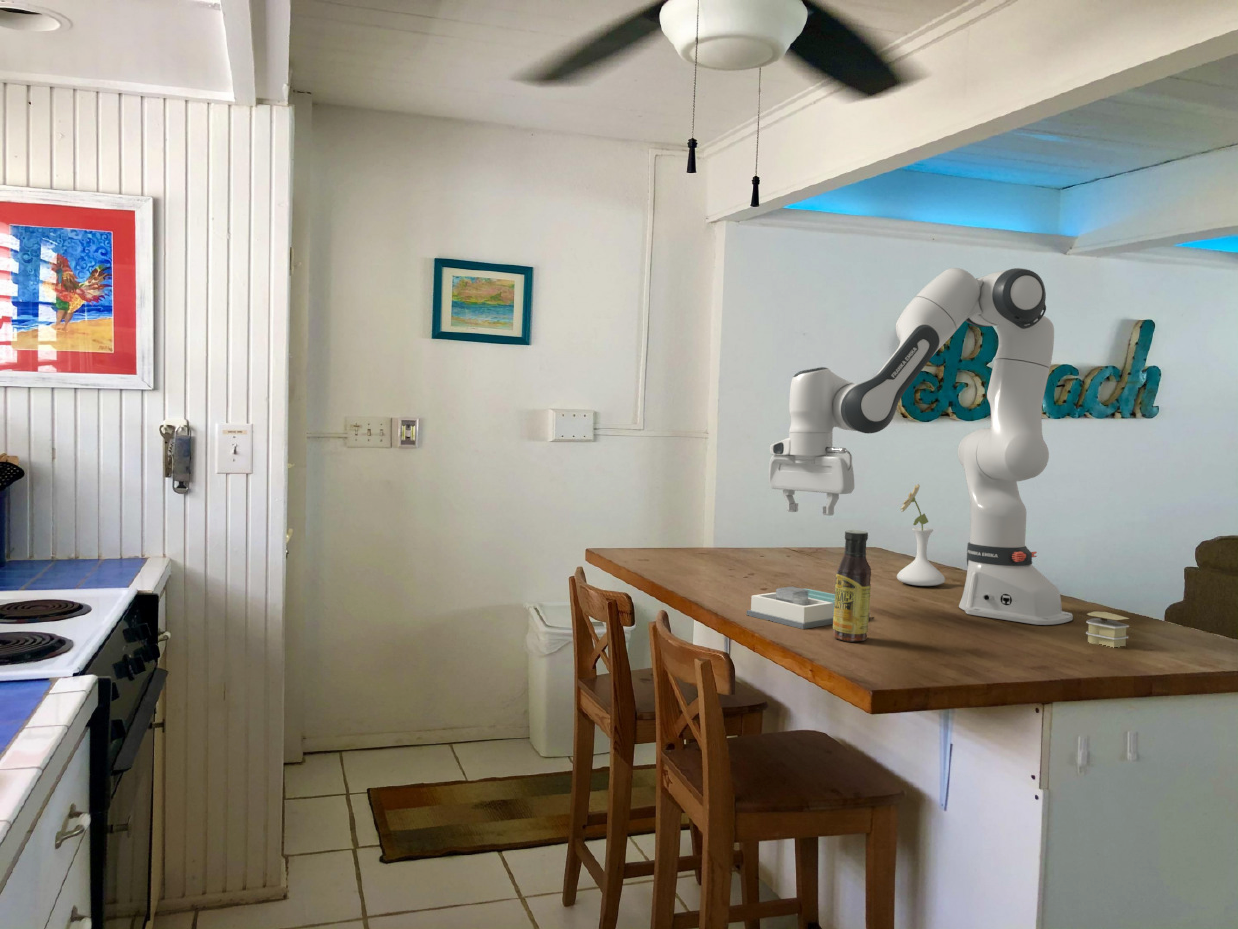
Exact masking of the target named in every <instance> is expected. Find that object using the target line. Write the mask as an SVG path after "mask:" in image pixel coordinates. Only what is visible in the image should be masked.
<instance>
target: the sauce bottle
mask: <svg viewBox="0 0 1238 929" xmlns="http://www.w3.org/2000/svg"><path fill="white" fill-rule="evenodd" d="M868 539H869V532H867V531H866V530H865V531H864V530H855V529H849V530H846V531H845V532H844V540H845V543H844V545H845V546H844V552H843V556H842V558H841V561H840V563H839V565H838V569H837V571H836V574H835V587H834V594H835V602H834V617H833V624H832V632H833V633H832V634H833V637H834V638H835V639H837V640H839V641H843V642H847V643H848V642H850V643H851V642H852V643H853V642H864V641H866V640H867V638H868V635H867V634H868V629H869V619H870V615H869V613H870V604H871V601H870V600H871V589H872V588H871V586H872V584H871V577H872V568H871V566H870V564H869V562H868V560H867V541H868Z"/></svg>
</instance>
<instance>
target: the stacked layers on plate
mask: <svg viewBox="0 0 1238 929" xmlns="http://www.w3.org/2000/svg"><path fill="white" fill-rule="evenodd" d="M1086 615H1088V616H1091V617H1093V618H1091V619H1087V620H1086V622H1085V623H1087V624H1088V629H1087V631H1085V634H1086V635H1087V643H1088V642H1089V644H1093V645H1099V644H1102V645H1101V646H1103V645H1106V646H1105V647H1107V646H1110V647H1109V648H1111V647H1113V648H1112V649H1115V648H1114V647H1118V648H1121V647H1120V646H1125V647H1126V644H1127V641H1126V639H1129V636H1128V635H1127V628H1129V627H1130V624H1126V623H1122V622H1119V620H1120V621H1121V620H1129V619H1130V618H1129V617H1126V616H1122V615H1119V614H1116V613H1112V612H1107V611H1097V610H1096V611H1092V612H1088V613H1086Z"/></svg>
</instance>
